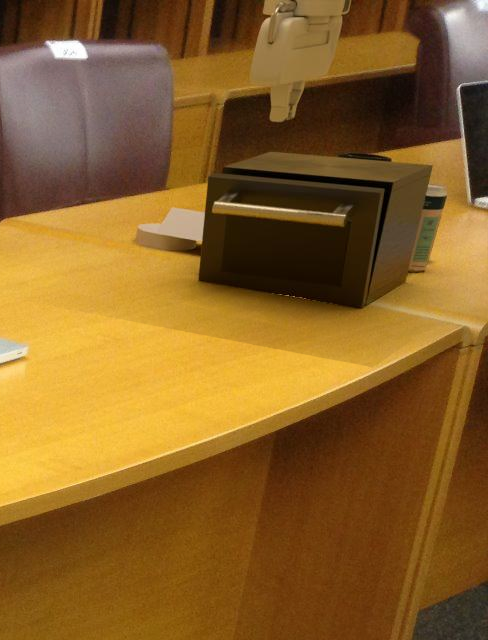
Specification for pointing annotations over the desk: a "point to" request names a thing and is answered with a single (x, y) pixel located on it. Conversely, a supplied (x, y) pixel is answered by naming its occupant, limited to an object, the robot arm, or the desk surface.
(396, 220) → the oven
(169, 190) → the desk surface
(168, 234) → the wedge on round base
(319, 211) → the oven door
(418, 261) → the pink and green canister
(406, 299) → the desk surface
